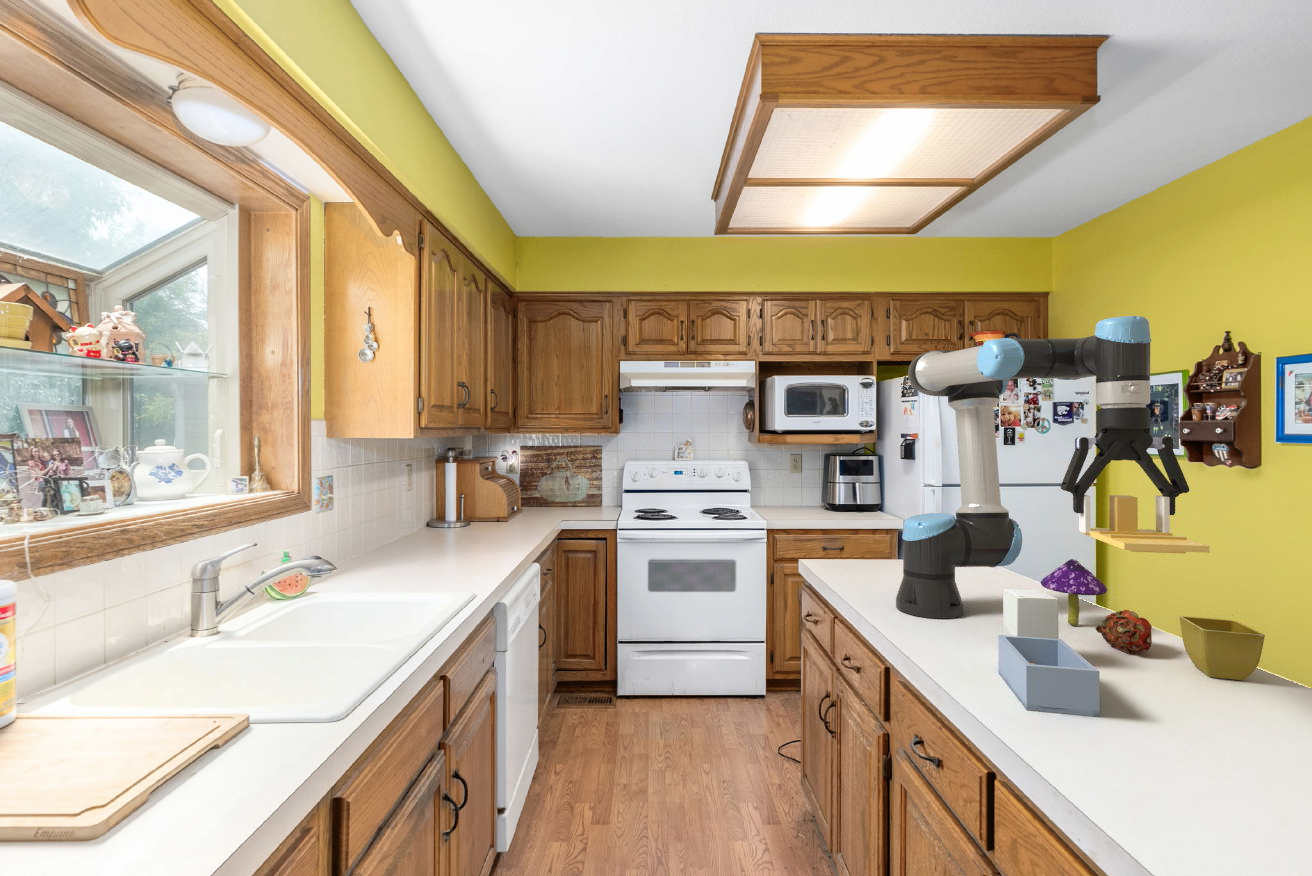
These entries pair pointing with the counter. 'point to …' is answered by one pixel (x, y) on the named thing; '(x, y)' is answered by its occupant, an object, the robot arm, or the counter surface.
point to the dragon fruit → (1126, 631)
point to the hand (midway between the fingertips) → (1123, 533)
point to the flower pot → (1222, 646)
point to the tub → (1049, 675)
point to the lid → (1138, 531)
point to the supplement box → (1030, 613)
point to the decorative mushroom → (1073, 585)
